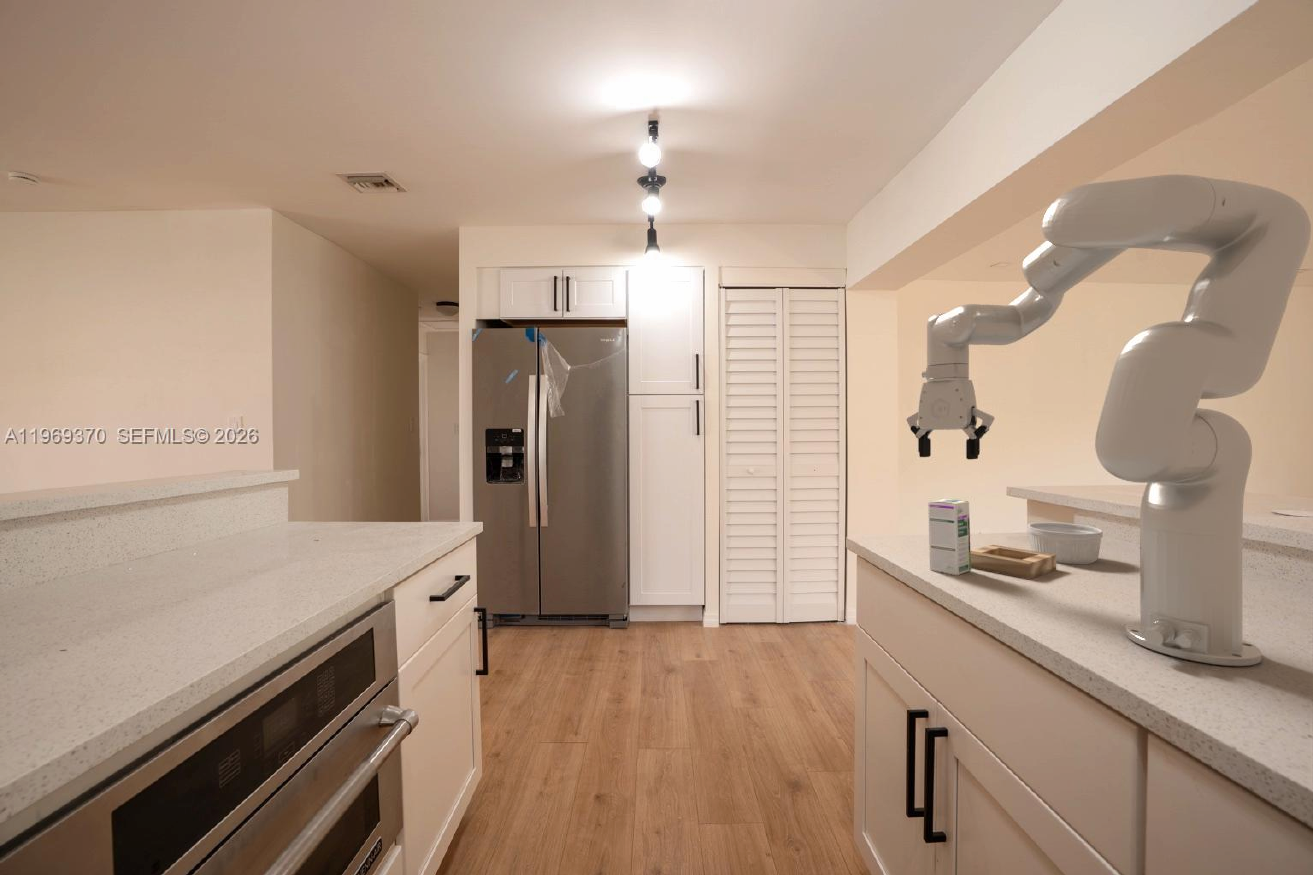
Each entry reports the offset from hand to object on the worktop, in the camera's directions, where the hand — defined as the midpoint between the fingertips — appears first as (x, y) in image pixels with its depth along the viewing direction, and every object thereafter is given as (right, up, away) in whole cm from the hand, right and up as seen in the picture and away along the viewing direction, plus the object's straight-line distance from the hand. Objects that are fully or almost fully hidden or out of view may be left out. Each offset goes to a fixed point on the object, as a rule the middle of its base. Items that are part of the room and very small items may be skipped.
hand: (947, 457), depth 108 cm
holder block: (+14, -23, +1) cm, 27 cm away
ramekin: (+31, -23, +9) cm, 39 cm away
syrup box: (0, -24, 0) cm, 24 cm away
